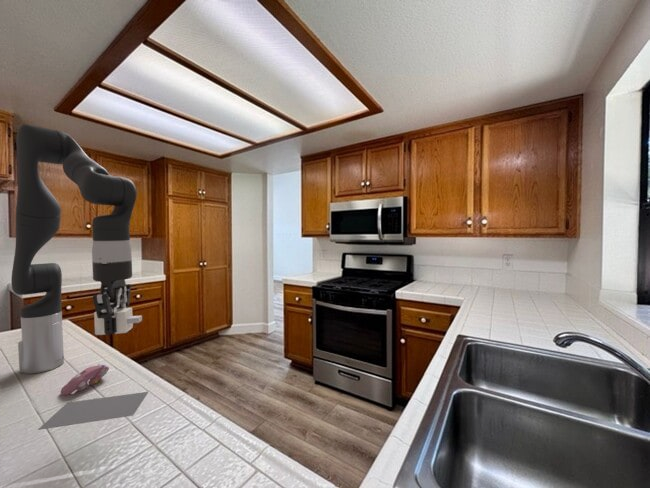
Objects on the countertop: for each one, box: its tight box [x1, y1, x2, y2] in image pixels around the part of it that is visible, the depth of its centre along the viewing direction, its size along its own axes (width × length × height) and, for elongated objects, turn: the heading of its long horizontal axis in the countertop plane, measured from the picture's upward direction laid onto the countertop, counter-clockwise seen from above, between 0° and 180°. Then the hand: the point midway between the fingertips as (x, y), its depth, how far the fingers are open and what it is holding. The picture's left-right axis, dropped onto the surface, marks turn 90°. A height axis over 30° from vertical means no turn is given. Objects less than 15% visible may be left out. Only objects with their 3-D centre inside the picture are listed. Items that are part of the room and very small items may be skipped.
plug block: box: [93, 307, 143, 336], centre depth 68 cm, size 9×4×5 cm, turn 105°
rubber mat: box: [38, 391, 149, 431], centre depth 67 cm, size 18×10×1 cm, turn 105°
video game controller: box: [60, 363, 110, 396], centre depth 78 cm, size 10×5×7 cm, turn 170°
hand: (115, 330), depth 68 cm, fingers closed on plug block, 4 cm apart
